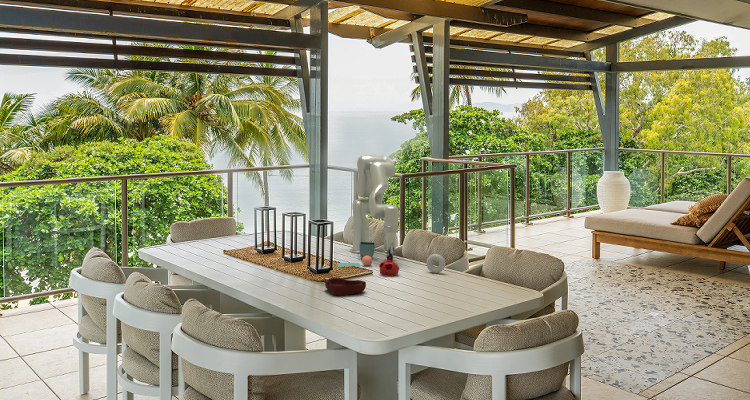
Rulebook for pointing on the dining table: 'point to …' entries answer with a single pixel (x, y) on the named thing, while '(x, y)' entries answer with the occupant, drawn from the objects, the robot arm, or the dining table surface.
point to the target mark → (349, 264)
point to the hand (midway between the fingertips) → (389, 263)
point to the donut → (440, 261)
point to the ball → (367, 260)
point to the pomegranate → (389, 268)
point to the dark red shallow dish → (344, 286)
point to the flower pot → (367, 249)
